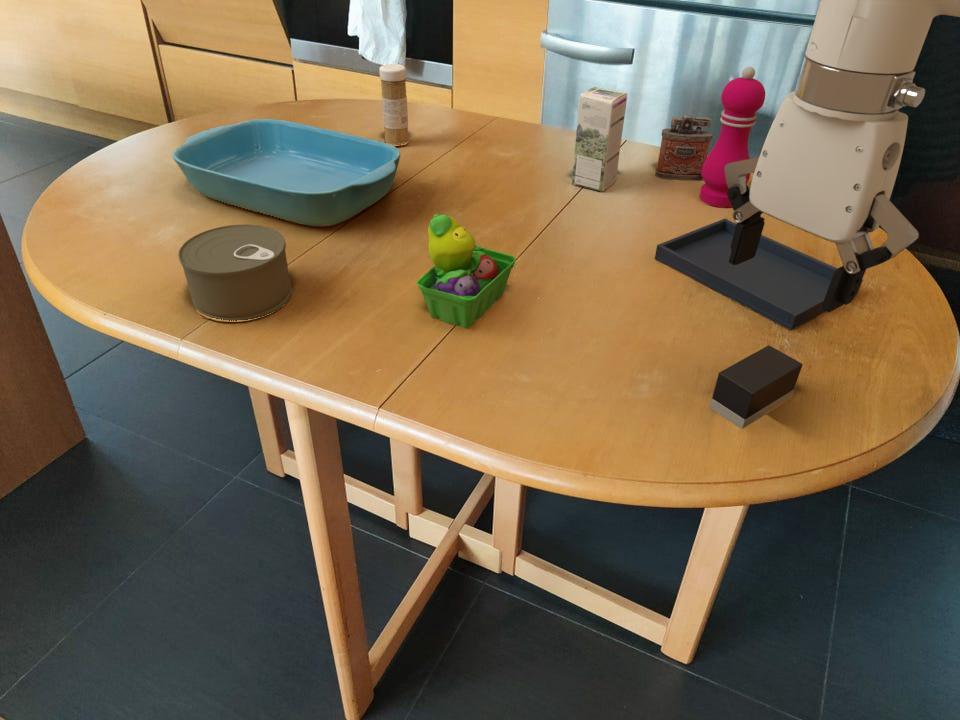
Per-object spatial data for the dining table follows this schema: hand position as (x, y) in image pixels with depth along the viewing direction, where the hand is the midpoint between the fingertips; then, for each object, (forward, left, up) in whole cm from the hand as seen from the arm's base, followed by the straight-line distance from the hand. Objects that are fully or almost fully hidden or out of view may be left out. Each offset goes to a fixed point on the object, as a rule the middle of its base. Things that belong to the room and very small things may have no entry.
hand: (785, 282), depth 64 cm
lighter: (+44, -40, -14) cm, 61 cm away
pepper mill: (+34, -38, -14) cm, 53 cm away
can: (+49, +34, -14) cm, 61 cm away
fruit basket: (+32, +13, -14) cm, 37 cm away
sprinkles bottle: (+84, -9, -14) cm, 85 cm away
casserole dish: (+74, +16, -14) cm, 77 cm away
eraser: (0, 0, -14) cm, 14 cm away
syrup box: (+50, -26, -14) cm, 58 cm away
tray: (+16, -22, -14) cm, 30 cm away
